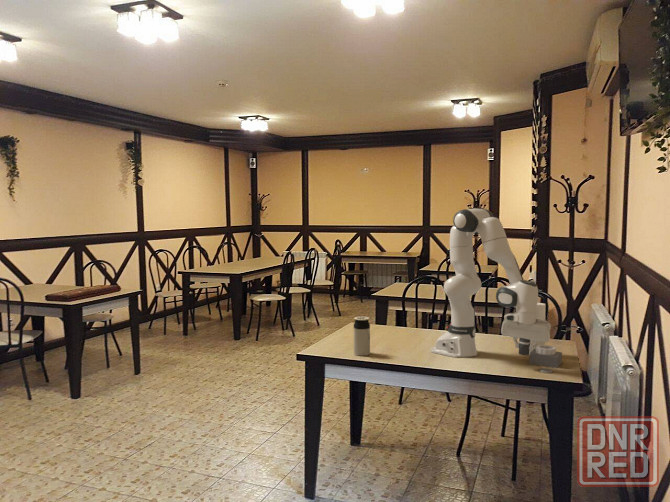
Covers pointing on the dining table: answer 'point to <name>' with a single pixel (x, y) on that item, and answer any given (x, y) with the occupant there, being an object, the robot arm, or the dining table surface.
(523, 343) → the lens
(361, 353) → the travel mug
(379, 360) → the dining table surface
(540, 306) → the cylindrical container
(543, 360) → the grey box with knob
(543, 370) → the lens cap
